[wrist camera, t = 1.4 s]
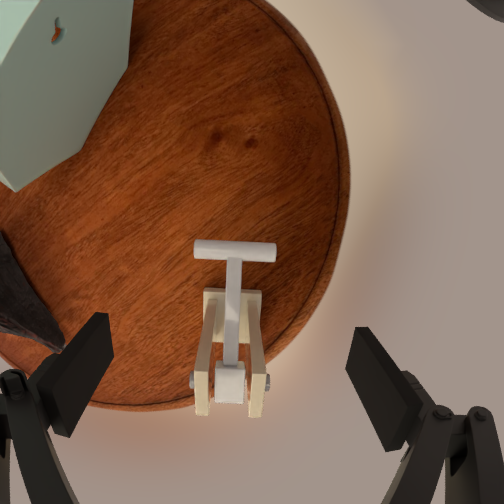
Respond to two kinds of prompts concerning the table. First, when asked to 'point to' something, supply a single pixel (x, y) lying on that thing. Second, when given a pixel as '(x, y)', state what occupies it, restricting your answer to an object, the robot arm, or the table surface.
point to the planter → (55, 78)
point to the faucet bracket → (215, 333)
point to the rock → (24, 306)
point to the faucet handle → (232, 309)
